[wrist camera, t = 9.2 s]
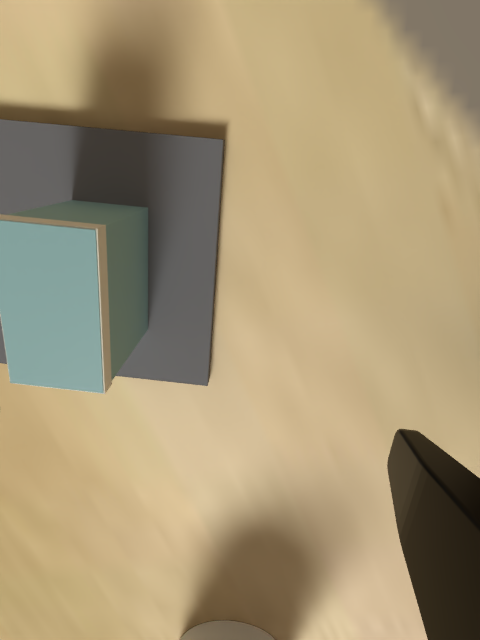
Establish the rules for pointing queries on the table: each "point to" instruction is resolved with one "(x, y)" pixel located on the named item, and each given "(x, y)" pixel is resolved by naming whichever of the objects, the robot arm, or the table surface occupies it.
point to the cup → (226, 631)
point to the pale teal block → (73, 292)
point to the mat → (163, 222)
